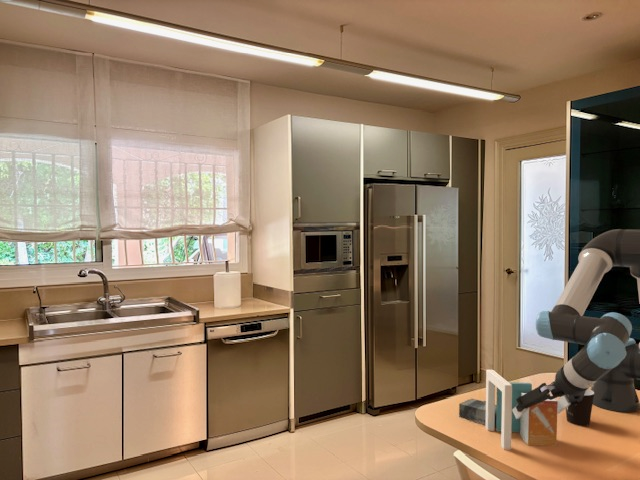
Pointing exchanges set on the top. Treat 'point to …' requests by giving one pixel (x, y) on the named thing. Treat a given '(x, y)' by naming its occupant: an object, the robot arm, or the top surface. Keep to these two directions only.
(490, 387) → the door frame
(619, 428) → the top surface
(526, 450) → the top surface
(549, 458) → the top surface
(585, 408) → the coffee mug
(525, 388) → the door leaf
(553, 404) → the small box
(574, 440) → the top surface
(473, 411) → the stone block
